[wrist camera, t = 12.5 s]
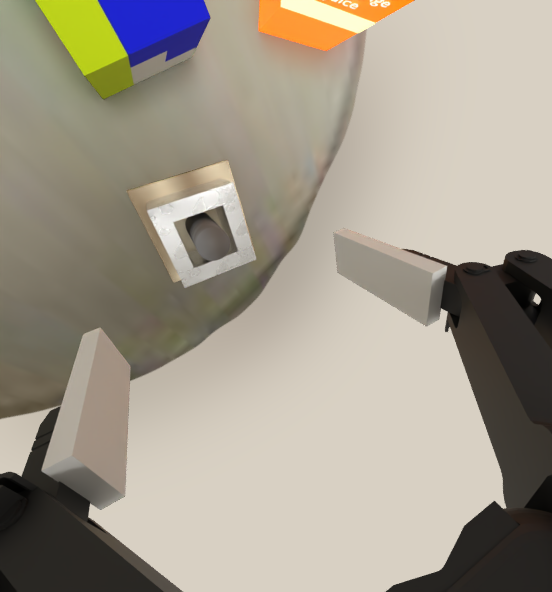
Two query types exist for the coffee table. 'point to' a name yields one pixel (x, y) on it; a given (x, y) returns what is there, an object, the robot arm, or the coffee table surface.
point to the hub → (195, 202)
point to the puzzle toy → (126, 37)
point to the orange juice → (322, 19)
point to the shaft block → (195, 229)
